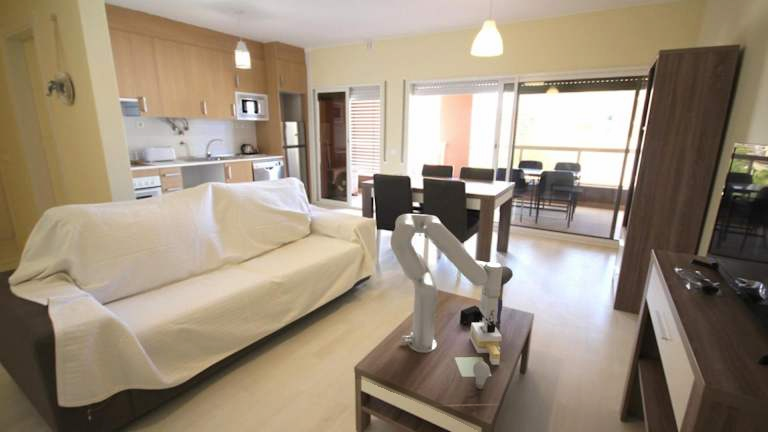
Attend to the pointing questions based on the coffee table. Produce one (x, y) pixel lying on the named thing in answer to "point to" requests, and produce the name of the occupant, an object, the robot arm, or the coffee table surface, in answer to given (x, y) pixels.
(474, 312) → the digital camera
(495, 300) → the robot arm
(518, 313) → the coffee table surface
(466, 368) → the pin mat
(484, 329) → the steel pin
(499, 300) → the rubber mallet
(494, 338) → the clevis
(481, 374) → the lightbulb
